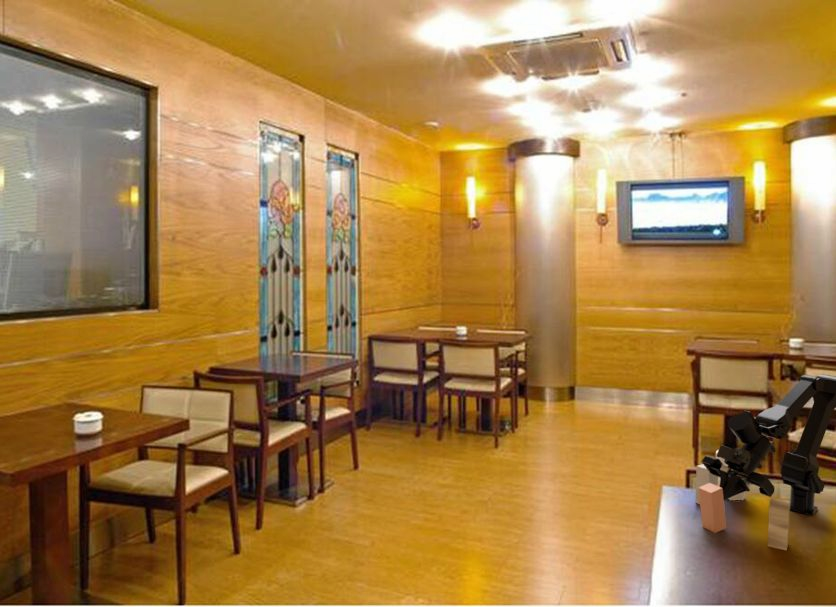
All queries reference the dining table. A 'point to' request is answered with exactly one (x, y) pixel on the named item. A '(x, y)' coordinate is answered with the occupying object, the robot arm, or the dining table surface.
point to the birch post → (778, 523)
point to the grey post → (703, 479)
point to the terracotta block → (712, 507)
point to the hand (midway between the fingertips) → (718, 500)
